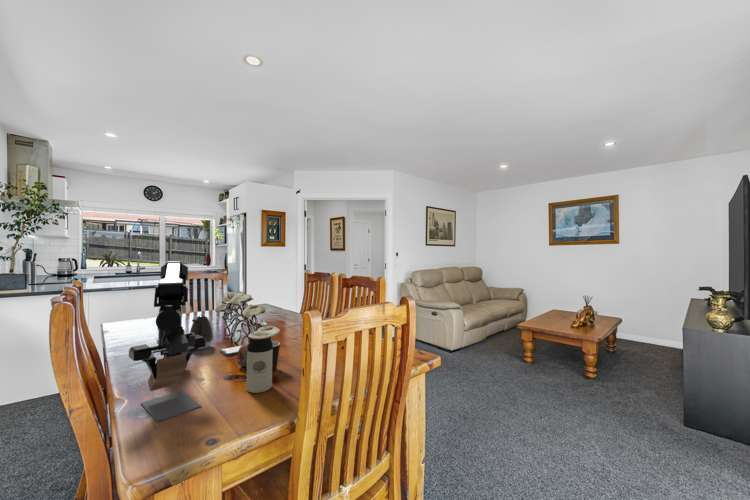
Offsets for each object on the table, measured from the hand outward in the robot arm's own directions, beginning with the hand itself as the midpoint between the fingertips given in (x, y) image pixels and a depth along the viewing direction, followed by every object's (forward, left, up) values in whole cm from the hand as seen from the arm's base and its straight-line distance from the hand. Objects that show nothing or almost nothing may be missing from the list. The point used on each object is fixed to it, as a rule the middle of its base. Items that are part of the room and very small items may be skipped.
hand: (169, 375), depth 94 cm
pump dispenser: (-32, +47, -9) cm, 57 cm away
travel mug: (+20, +17, -9) cm, 27 cm away
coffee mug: (+12, +32, -9) cm, 35 cm away
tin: (+2, +37, -9) cm, 38 cm away
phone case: (-12, +49, -9) cm, 51 cm away
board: (-5, +2, -4) cm, 7 cm away
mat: (+2, -1, -8) cm, 9 cm away
